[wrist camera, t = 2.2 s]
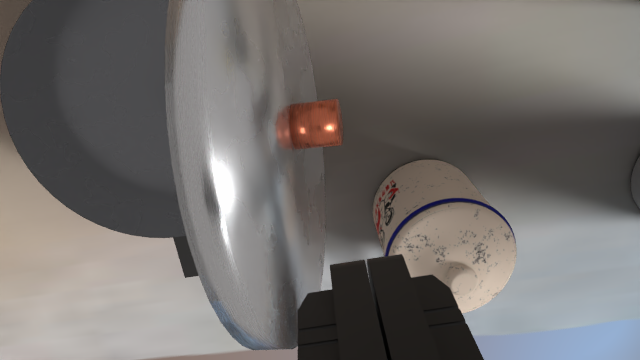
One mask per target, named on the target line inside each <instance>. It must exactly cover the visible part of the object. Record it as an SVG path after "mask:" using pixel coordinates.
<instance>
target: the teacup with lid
mask: <svg viewBox="0 0 640 360" xmlns="http://www.w3.org/2000/svg"><path fill="white" fill-rule="evenodd" d="M373 219H374V223H375V227H376V230H377V233H378V237H379V240H380V243H381V247H382V250H383V253H384V257H386V256H392V255H399V254H402V255H403V257H404V260H405V262H406V265H407V268H408V271H409V273H410V276H411V278H412V277H418V276H425V275H432V274H433V275H434V276H435V277H436V278H438V279H439V280H440V281H442V282H443V283H444V284H446V285H447V286H448V287H449V288H450V289H451V291H452V294H453V296H454V298H455V300H456V302H457V304H458V308H459V309H460V310H461V313H466V312H469V311H472V310H475V309H477V308H479V307H481V306H483V305H484V304H486V303H488V302H489V301H490V300H492V299H493V298H494V297H495V296H496V295H497V294H498V293H499V292H500V291H501V290H502V289H503V288H504V287H505V285H506V284H507V282H508V280H509V279H510V277H511V274H512V272H513V269H514V266H515V262H516V241H515V237H514V233H513V231H512V228H511V227H510V225H509V223H508V222H507V220H506V219H505V218H504V217H503V216H502V215H501V214H500V213H499V212H498V211H497V210H495V209H494V208H493V207H491V206H490V205H489V204H488V202H487V201H486V200H485V199H484V197H483V196H482V195H481V194H480V192H479V191H478V190H477V189H476V187H475V186H474V185H473V184H472V182H471V181H470V180H469V179H468V177H467V176H466V175H465V174H464V173H463V172H462V171H461V170H459V169H458V168H457V167H455V166H453V165H451V164H449V163H446V162H443V161H439V160H419V161H414V162H411V163H408V164H405V165H403V166H401V167H400V168H398V169H396V170H395V171H394V172H392V173H391V174H390V175H389V176H388V177H387V178H386V179H385V180H384V181H383V183H382V184H381V185H380V187H379V189H378V191H377V193H376V195H375V199H374V203H373Z"/></svg>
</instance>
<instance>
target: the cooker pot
mask: <svg viewBox="0 0 640 360" xmlns="http://www.w3.org/2000/svg"><path fill="white" fill-rule="evenodd" d="M168 4H169V0H32V2H31V3H30V4H29V5H28V6H27V7H26V9H25V10H24V11H23V12H22V14H21V16H20V17H19V19H18V20H17V22H16V24H15V25H14V27H13V29H12V31H11V34H10V36H9V39H8V41H7V44H6V47H5V51H4V55H3V59H2V65H1V75H0V91H1V102H2V108H3V113H4V118H5V121H6V124H7V127H8V130H9V133H10V136H11V138H12V140H13V142H14V145H15V147H16V149H17V151H18V153H19V154H20V156H21V158H22V159H23V161H24V162H25V164H26V166H27V167H28V169H29V170H30V171H31V172H32V174H33V175H34V176H35V177H36V179H37V180H38V181H39V182H40V183H41V184H42V185H43V186H44V187H45V188H46V189H47V190H48V191H49V192H50V193H51V194H52V195H53V196H54V197H55V198H56V199H58V200H59V201H60V202H61V203H63V204H64V205H65V206H66V207H68V208H69V209H71V210H72V211H74V212H76V213H77V214H79V215H80V216H82V217H84V218H86V219H88V220H90V221H92V222H94V223H96V224H98V225H100V226H103V227H106V228H109V229H111V230H114V231H117V232H121V233H125V234H129V235H135V236H142V237H150V238H170V237H173V238H174V242H175V245H176V248H177V252H178V255H179V259H180V262H181V266H182V269H183V272H184V276H185V278H186V277H193V276H199V275H198V272H197V269H196V266H195V263H194V260H193V257H192V254H191V250H190V247H189V244H188V241H187V236H186V232H185V228H184V224H183V220H182V216H181V212H180V208H179V203H178V197H177V192H176V186H175V181H174V175H173V170H172V163H171V154H170V146H169V137H168V129H167V116H166V99H165V36H166V24H167V11H168Z"/></svg>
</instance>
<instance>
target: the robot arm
mask: <svg viewBox="0 0 640 360" xmlns="http://www.w3.org/2000/svg"><path fill="white" fill-rule="evenodd" d="M631 192H632V195H633V199H634V201H635V203H636V204H637V206H638V208H639V209H640V156H639V158H638V160H637V162H636V164H635V167H634V169H633V173H632V178H631ZM367 265H368V273H369V277H368V273H367V268H366V264H365V260H360V261H353V262H346V263H340V264H333V265H330V271H331V280H332V290H325V291H319V292H312V293H308V294H307V295H306V297H305V299H304V301H303V302H302V304H301V306H300V307H299V309H298V360H484V359H483V357H482V355H481V353H480V351H479V349H478V346H477V344H476V342H475V340H474V338H473V336H472V334H471V332H470V329H469V327H468V325H467V324H466V323H465V319H464V317H463V315H462V313H461V310H460V309H459V308H458V304H457V302H456V300H455V298H454V296H453V294H452V291H451V289H450V288H449V287H448V286H447V285H446V284H444V283H443V282H442V281H440V280H439V279H438V278H436V277H435V276H434V275H433V274H432V275H425V276H418V277H412V278H411V276H410V273H409V271H408V268H407V265H406V262H405V260H404V257H403V255H402V254H399V255H392V256H386V257H379V258H372V259H367ZM369 280H370V282H369Z"/></svg>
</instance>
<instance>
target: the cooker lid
mask: <svg viewBox="0 0 640 360" xmlns="http://www.w3.org/2000/svg"><path fill="white" fill-rule="evenodd" d="M165 99H166V116H167V129H168V137H169V146H170V154H171V163H172V170H173V175H174V181H175V186H176V192H177V197H178V203H179V208H180V212H181V216H182V220H183V224H184V228H185V232H186V236H187V241H188V244H189V247H190V250H191V254H192V257H193V260H194V263H195V266H196V269H197V272H198V275H199V278H200V280H201V282H202V285H203V287H204V290H205V292H206V294H207V297H208V299H209V301H210V303H211V305H212V307H213V309H214V311H215V312H216V314H217V316H218V318H219V320H220V321H221V323H222V324H223V326H224V327H225V328H226V330H227V331H228V332H229V333H230V335H231V336H232V337H233V338H234V339H235V340H236V341H238V342H239V343H240V344H241V345H242V346H244V347H246V348H249V349H251V350H278V349H294V348H296V347H297V346H298V309H299V307H300V306H301V304H302V302H303V301H304V299H305V297H306V295H307V294H308V293H312V292H319V291H320V290H321V282H322V275H323V265H324V253H325V230H326V196H325V171H324V156H323V147H328V146H339V145H342V144H343V123H342V115H341V109H340V104H339V101H338V99H331V100H322V101H318V100H317V93H316V86H315V80H314V74H313V68H312V63H311V58H310V53H309V48H308V43H307V39H306V34H305V30H304V26H303V22H302V18H301V14H300V10H299V7H298V3H297V0H169V4H168V11H167V24H166V36H165Z"/></svg>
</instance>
